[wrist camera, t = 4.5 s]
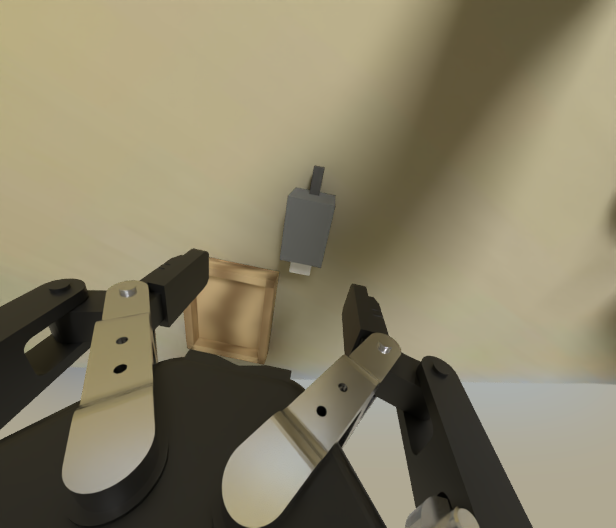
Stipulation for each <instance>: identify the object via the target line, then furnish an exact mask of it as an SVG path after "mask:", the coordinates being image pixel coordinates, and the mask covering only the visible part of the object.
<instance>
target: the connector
mask: <svg viewBox="0 0 616 528" xmlns="http://www.w3.org/2000/svg"><path fill="white" fill-rule="evenodd" d="M324 168H325V167H320V166H314V170H313V176H312V182H311V187H310V190H307V189H302V188H297V187H296V188H295V189H294V190H293V191H292V192H291V193H290V194H289V196H288V200H287V207H286V215H285V223H284V230H283V238H282V246H281V253H280V260H284V261H289V262H291V263H290V270H289V272H292V273H297V274H302V275H307V276H310V271H311V266H314V267H319V268H321V266H322V261H323V257H324V253H325V248H326V244H327V240H328V235H329V231H330V227H331V222H332V218H333V214H334V210H335V195H331V194H327V193H322V192H320V189H321V183H322V178H323V173H324Z"/></svg>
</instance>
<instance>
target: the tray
mask: <svg viewBox="0 0 616 528" xmlns="http://www.w3.org/2000/svg"><path fill="white" fill-rule="evenodd" d="M278 277H279V272H277V271H273V270H268V269H263V268H258V267H253V266H249V265H244V264H239V263H234V262H229V261H225V260H220V259H215V258H210V257H209V279H208V283H207V285H206V286H205V288H204V289H203V290H202V291H201V292H200V293H199V294H198V296H197V297H196V298H195V299H194V300H193V301H192V302H191V303H190V305H189V306H188V307H187V308H186V309H185V310H184V320H185V330H186V341H187V348H188V349H192V350H197V351H202V352H207V353H211V354H216V355H221V356H226V357H230V358H235V359H240V360H245V361H249V362H254V363H259V364H264V363H265V360H266V357H267V354H268V349H269V341H270V334H271V327H272V320H273V313H274V305H275V298H276V291H277V284H278Z"/></svg>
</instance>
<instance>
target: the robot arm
mask: <svg viewBox="0 0 616 528" xmlns="http://www.w3.org/2000/svg"><path fill="white" fill-rule="evenodd" d="M208 279H209V254H208V252H207V251H202V250H198V249H191V250H190V251H188V252H187V253H186V254H184V255H180V256H177V257H174V258H171V259H170V260H168V261H167V262H165V263H164V264H163V265H161V266H160V267H159V268H157V269H155V270H154V271H153V272H151V273H150V274H148V275H147V276H146V277H144V278H143V279H141V280H140V281H136V280H131V281H124V282H120V283H117V284H115V285H113V286H111V287H110V288H109V289H108V290H107V291H97V290H87V289H86V286H85V283H84V282H83V281H81V280H78V279H60V280H55V281H51V282H48V283H46V284H43V285H41V286H39V287H37V288H35V289H34V290H32V291H30V292H28V293H26V294H24V295H22V296H20V297H18V298H16V299H14V300H12V301H10V302H9V303H7V304H5V305H3V306H1V307H0V429H1V428H3V427H4V426H5V425H6V424H7V423H8V422H9V421H10V420H11V419H12V418H13V417H15V416H16V415H17V414H18V413H19V412H20V411H21V410H22V409H23V408H24V407H25V406H27V405H28V404H29V403H30V402H31V401H32V400H33V399H34V398H35V397H37V396H38V395H39V394H40V393H41V392H42V391H43V390H44V389H45V388H46V387H47V386H49V385H50V384H51V383H52V382H53V381H54V380H55V379H56V378H57V377H59V376H60V375H61V374H62V373H63V372H64V371H65V370H66V369H67V368H68V367H69V366H71V365H72V364H73V363H74V362H75V361H76V360H77V359H78V358H79V357H80V356H82V355H83V354H84V353H85V352H86V351H87V350H88V349H89V348H90V347H91V348H90V353H89V359H88V364H87V370H86V375H85V380H84V386H83V391H82V396H81V400H80V401H78V402H76V403H74V404H72V405H70V406H68V407H66V408H64V409H62V410H60V411H58V412H56V413H54V414H52V415H50V416H48V417H46V418H43V419H41V420H40V421H38V422H35V423H34V424H31V425H29V426H27V427H25V428H23V429H21V430H19V431H17V432H15V433H13V434H11V435H9V436H7V437H5V438H3V439H1V440H0V528H387V527H386V525H385V524H384V522H383V520H382V519H381V517H380V515H379V513H378V511H377V510H376V508H375V506H374V504H373V503H372V501H371V499H370V497H369V496H368V494H367V492H366V490H365V489H364V487H363V485H362V483H361V482H360V480H359V478H358V476H357V474H356V473H355V471H354V469H353V467H352V466H351V464H350V462H349V461H348V459H347V457H346V455H345V453H344V452H343V450H342V448H343V447H344V445H345V444H346V442H347V441H348V439H349V438H350V436H351V435H352V433H353V431H354V430H355V428H356V427H357V425H358V424H359V422H360V421H361V419H362V418H363V416H364V415H365V413H366V412H367V410H368V409H369V408H370V406H371V405H372V403H373V402H374V400H375V399H376V397H379V398H380V399H383V400H384V401H386V402H388V403H390V404H392V405H393V406H395V407H396V409H397V414H398V419H399V424H400V429H401V434H402V440H403V445H404V450H405V455H406V460H407V465H408V470H409V475H410V481H411V485H412V491H413V496H414V501H415V506H416V509H415V510H414V511H413V512H412V513H411V514H410V515H409V516H408V518H407V521H406V525H405V528H533V527H532V525H531V523H530V521H529V519H528V517H527V515H526V513H525V511H524V509H523V507H522V505H521V503H520V501H519V499H518V497H517V495H516V493H515V491H514V489H513V487H512V485H511V483H510V481H509V479H508V477H507V475H506V473H505V471H504V469H503V467H502V465H501V463H500V460H499V458H498V456H497V454H496V453H495V450H494V448H493V446H492V445H491V442H490V440H489V438H488V436H487V434H486V432H485V430H484V428H483V426H482V424H481V422H480V420H479V418H478V416H477V414H476V412H475V410H474V408H473V406H472V404H471V402H470V400H469V398H468V396H467V394H466V392H465V390H464V388H463V386H462V384H461V382H460V380H459V378H458V376H457V374H456V372H455V371H454V370H453V368H452V367H451V366H450V365H448V364H447V363H446V362H444V361H443V360H441V359H439V358H437V357H433V356H426V357H424V358H423V359H422V361H421V362H420V361H418V360H416V359H413V358H411V357H409V356H407V355H405V354H403V353H402V352H401V348H400V346H399V344H398V343H397V342H396V341H395V340H394V339H393V338H391V337H390V336H389V335H388V332H387V328H386V325H385V322H384V319H383V315H382V312H381V309H380V306H379V303H378V302H377V301H376V300H375V299H374V297H370V296H368V293H367V289H366V287H365V286H361V285H356V284H352V285H351V287H350V289H349V292H348V295H347V298H346V301H345V304H344V307H343V312H342V322H343V337H344V351H345V354H344V355H342V356H341V357H340V358H339V359H338V360H337V361H336V362H335V363H334V364H333V365H332V366H331V367H329V368H328V369H327V370H326V371H325V372H324V373H323V374H322V375H321V376H320V377H319V378H318V379H317V380H316V381H315V382H314V383H312V384H311V385H310V386H309V387H308V388H307V389H306V390H305V389H304V388H303V387H302V386H301V385H299V384H298V383H296V382H295V381H293V380H291V379H290V376H291V371H290V370H286V369H281V368H276V367H272V366H267V365H264V366H238V365H235V364H233V363H231V362H229V361H227V360H225V359H223V358H221V357H219V356H217V355H215V354H210V353H206V352H201V351H196V350H191V349H190V350H189V351H188V353H187V354H186V356H185V357H180V358H173V359H168V360H164V361H161V362H158V357H157V345H156V334H155V329H156V328H157V327H158V326H159V325H160V326H164V327H170V326H171V325H172V324H173V323H174V321H175V320H176V319H177V318H178V317H179V316H180V315H181V314H182V312H183V311H184V310H185V309H186V308H187V307H188V306H189V305H190V303H191V302H192V301H193V300H194V299H195V298H196V297H197V296H198V294H199V293H200V292H201V291H202V290H203V289H204V288H205V286H206V285H207V283H208ZM48 326H49V328H50V330H51V333H52V334H51V335H50V336H48V337H47V338H46V339H44V340H43V341H42V342H40V343H39V344H37V345H36V346H35V347H33V348H32V349H31V350H29V351H28V352H26V353H25V354H24V347H25V345H26V343H27V342H28V341H29V340H30V339H31V338H32V337H33V336H35V335H36V334H38V333H39V332H40V331H42V330H43V329H45V328H46V327H48Z"/></svg>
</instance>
